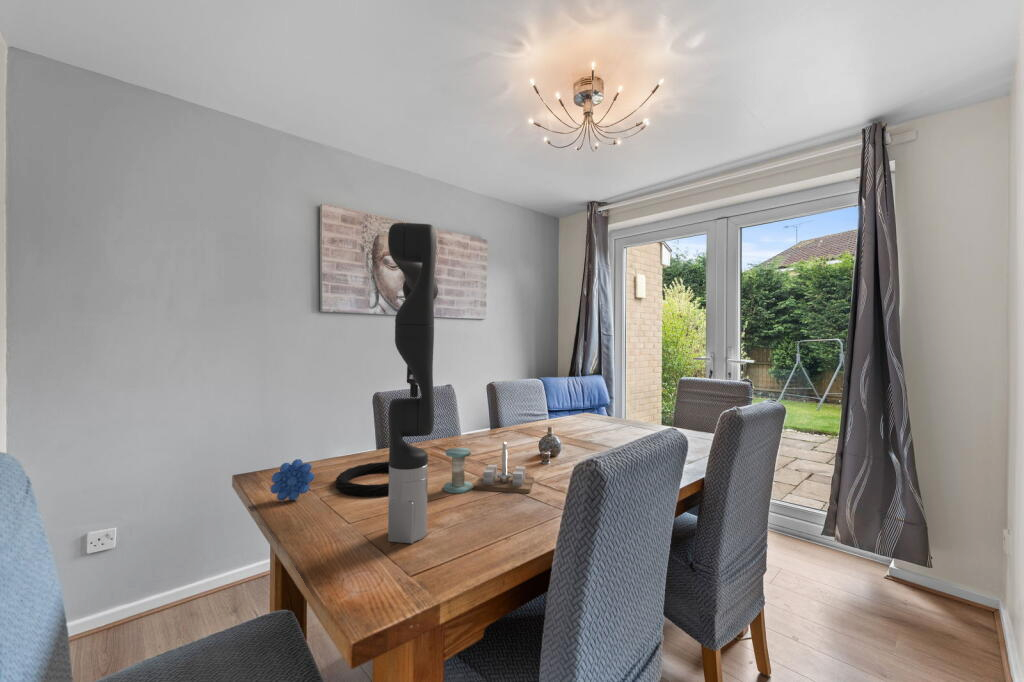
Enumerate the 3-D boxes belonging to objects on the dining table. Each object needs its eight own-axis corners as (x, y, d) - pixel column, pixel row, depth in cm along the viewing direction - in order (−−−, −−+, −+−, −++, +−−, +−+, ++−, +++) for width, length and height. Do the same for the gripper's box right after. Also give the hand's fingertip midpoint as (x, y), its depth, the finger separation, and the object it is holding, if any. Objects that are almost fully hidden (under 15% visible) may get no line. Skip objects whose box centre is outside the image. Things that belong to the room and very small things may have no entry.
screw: (495, 479, 146) (510, 478, 147) (497, 484, 141) (512, 483, 142) (496, 440, 146) (510, 439, 147) (498, 443, 141) (513, 443, 142)
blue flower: (316, 493, 135) (316, 454, 135) (313, 501, 128) (313, 460, 128) (273, 497, 131) (273, 457, 131) (268, 505, 125) (268, 463, 125)
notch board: (529, 493, 137) (530, 476, 137) (473, 489, 140) (473, 473, 140) (533, 480, 149) (534, 465, 149) (481, 477, 152) (481, 462, 152)
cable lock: (317, 484, 133) (360, 457, 163) (317, 497, 133) (360, 467, 163) (406, 488, 131) (434, 460, 160) (406, 501, 131) (434, 470, 160)
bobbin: (468, 494, 135) (468, 455, 135) (440, 492, 137) (440, 453, 137) (475, 484, 144) (475, 448, 144) (448, 482, 146) (449, 446, 146)
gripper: (423, 343, 128) (422, 399, 129) (438, 342, 142) (438, 393, 143) (398, 343, 130) (398, 398, 130) (416, 342, 144) (416, 392, 144)
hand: (419, 395), depth 136 cm, fingers open, 8 cm apart
